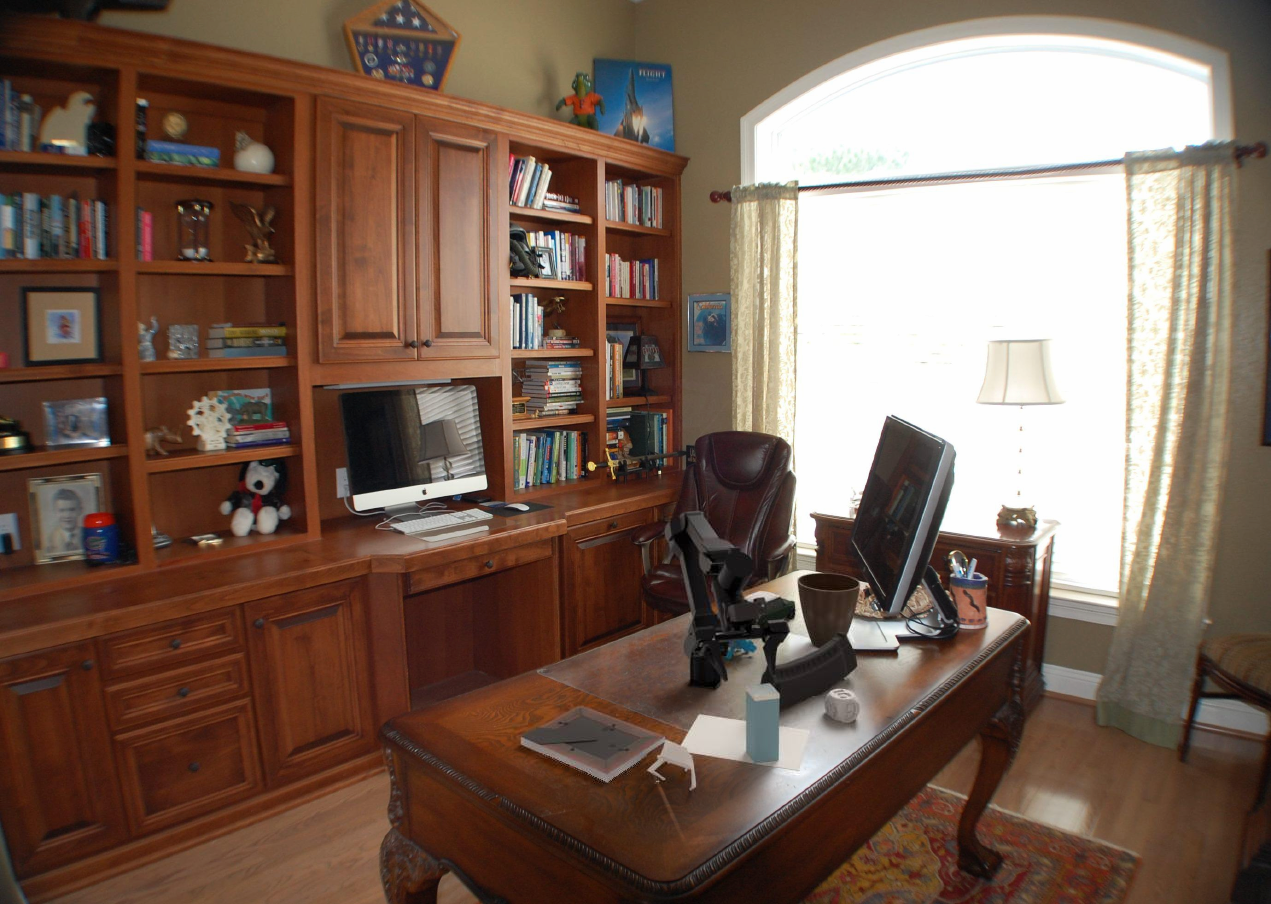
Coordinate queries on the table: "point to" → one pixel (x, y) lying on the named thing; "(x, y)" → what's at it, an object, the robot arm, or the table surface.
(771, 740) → the teal block
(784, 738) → the cream rectangular board
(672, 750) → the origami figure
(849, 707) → the die
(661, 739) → the picture frame
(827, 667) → the magazine
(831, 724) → the table surface
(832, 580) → the plant pot
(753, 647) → the gear
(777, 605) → the miniature car
